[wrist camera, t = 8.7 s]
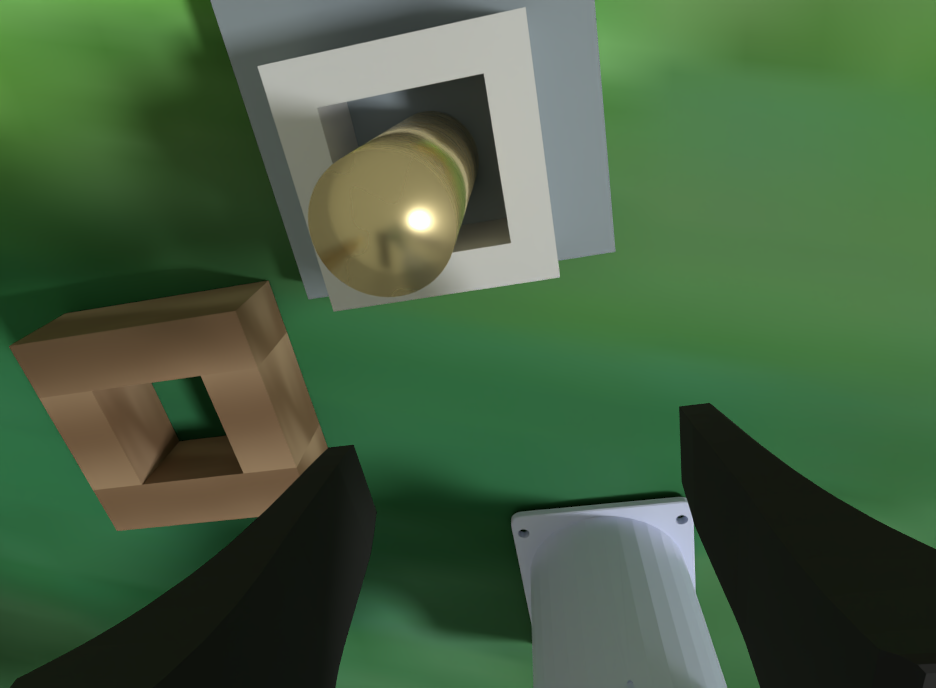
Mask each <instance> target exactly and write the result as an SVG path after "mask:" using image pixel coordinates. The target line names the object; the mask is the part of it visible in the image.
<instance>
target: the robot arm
mask: <svg viewBox="0 0 936 688" xmlns="http://www.w3.org/2000/svg"><path fill="white" fill-rule="evenodd" d="M679 412H680V443H681V474H682V484H683V488H684V491H685V495H686V498H685V497H672V498H661V499H651V500H640V501H629V502H618V503H608V504H597V505H586V506H576V507H565V508H554V509H544V510H533V511H522V512H517V513H515V514H514V515H513V516H512V518H511V527H512V532H513V537H514V542H515V547H516V552H517V556H518V561H519V566H520V571H521V576H522V581H523V586H524V591H525V596H526V600H527V605H528V610H529V615H530V620H531V625H532V652H533V688H727V685H726V682H725V679H724V676H723V673H722V670H721V667H720V664H719V661H718V658H717V655H716V652H715V649H714V646H713V643H712V640H711V637H710V634H709V631H708V628H707V625H706V622H705V619H704V616H703V613H702V610H701V607H700V604H699V601H698V598H697V595H696V591H695V557H694V525H695V527H696V529H697V532H698V534H699V536H700V539H701V541H702V543H703V545H704V548H705V550H706V552H707V555H708V557H709V559H710V561H711V564H712V566H713V568H714V570H715V573H716V575H717V577H718V579H719V582H720V584H721V586H722V588H723V591H724V593H725V595H726V597H727V600H728V602H729V604H730V606H731V609H732V611H733V613H734V615H735V618H736V620H737V622H738V625H739V628H740V630H741V633H742V635H743V638H744V640H745V643H746V646H747V649H748V652H749V655H750V658H751V661H752V664H753V667H754V670H755V673H756V676H757V679H758V682H759V685H760V688H936V549H934V548H932V547H930V546H928V545H926V544H924V543H922V542H919V541H917V540H915V539H913V538H911V537H909V536H907V535H905V534H903V533H901V532H899V531H897V530H895V529H893V528H891V527H889V526H887V525H885V524H883V523H881V522H879V521H877V520H875V519H873V518H871V517H870V516H868V515H866V514H864V513H863V512H861V511H859V510H857V509H856V508H854V507H852V506H850V505H849V504H847V503H845V502H843V501H842V500H840V499H838V498H836V497H835V496H833V495H832V494H830V493H828V492H827V491H825V490H823V489H822V488H820V487H819V486H817V485H816V484H814V483H813V482H811V481H810V480H808V479H807V478H805V477H804V476H802V475H801V474H799V473H798V472H796V471H795V470H794V469H792V468H791V467H789V466H788V465H787V464H785V463H784V462H783V461H781V460H780V459H779V458H777V457H776V456H775V455H773V454H772V453H771V452H769V451H768V450H767V449H765V448H764V447H763V446H761V445H760V444H759V443H758V442H756V441H755V440H754V439H753V438H751V437H750V436H749V435H748V434H747V433H745V432H744V431H743V430H742V429H740V428H739V427H738V426H737V425H736V424H734V423H733V422H732V421H731V420H730V419H728V418H727V417H726V416H725V415H724V414H722V413H721V412H720V411H719V410H718V409H716V408H715V407H714V406H713V405H711V404H710V403H706V404H697V405H689V406H680V407H679ZM376 514H377V512H376V509H375V506H374V503H373V500H372V497H371V494H370V491H369V488H368V485H367V483H366V480H365V477H364V474H363V471H362V468H361V465H360V462H359V459H358V456H357V453H356V451H355V448H354V445H348V446H339V447H331V448H328V449H327V450H325V451H324V452H323V453H322V454H321V455H320V456H319V457H318V458H317V459H316V460H315V461H314V462H313V463H312V464H311V465H310V466H309V467H308V468H307V469H306V470H305V471H304V472H303V473H302V474H301V475H300V476H299V477H298V478H297V479H296V480H295V481H294V482H293V483H292V484H291V485H290V486H289V487H288V488H287V489H286V490H285V492H284V493H283V494H282V495H281V496H280V497H279V498H278V499H277V500H276V501H275V502H274V503H273V504H272V505H271V506H270V507H269V508H268V509H266V510H265V511H264V512H263V513H262V514H261V515H260V516H259V517H258V518H257V519H256V520H255V521H254V522H253V523H251V524H250V525H249V526H248V527H247V528H246V529H245V530H244V531H243V532H242V533H241V534H240V535H239V536H237V537H236V538H235V539H234V540H233V541H232V542H231V543H230V544H228V545H227V546H226V547H225V548H224V549H222V550H221V551H220V552H219V553H218V554H217V555H215V556H214V557H213V558H212V559H210V560H209V561H208V562H206V563H205V564H204V565H203V566H201V567H200V568H199V569H198V570H196V571H195V572H194V573H192V574H191V575H190V576H188V577H187V578H186V579H184V580H183V581H181V582H180V583H179V584H177V585H176V586H174V587H173V588H171V589H170V590H169V591H167V592H166V593H164V594H163V595H161V596H160V597H159V598H157V599H156V600H154V601H153V602H151V603H150V604H148V605H147V606H146V607H144V608H142V609H141V610H139V611H138V612H136V613H135V614H133V615H131V616H130V617H128V618H127V619H125V620H123V621H122V622H120V623H119V624H117V625H115V626H114V627H112V628H110V629H109V630H107V631H105V632H103V633H102V634H100V635H98V636H97V637H95V638H93V639H92V640H90V641H88V642H86V643H84V644H83V645H81V646H79V647H77V648H75V649H73V650H72V651H70V652H68V653H66V654H64V655H62V656H60V657H58V658H56V659H54V660H53V661H51V662H49V663H47V664H45V665H43V666H41V667H39V668H37V669H35V670H33V671H32V672H30V673H28V674H25V675H23V676H21V677H19V678H17V679H16V680H15V682H14V683H13V684H12V686H11V687H10V688H335V686H336V680H337V675H338V670H339V665H340V661H341V657H342V653H343V649H344V645H345V642H346V638H347V635H348V631H349V628H350V624H351V621H352V617H353V614H354V611H355V607H356V604H357V600H358V597H359V593H360V590H361V587H362V583H363V580H364V576H365V572H366V569H367V565H368V562H369V558H370V554H371V549H372V542H373V536H374V529H375V521H376ZM680 515H685V516H684V517H682V518H677V517H678V516H680ZM693 521H694V524H693ZM522 529H525V530H527V531H525V532H522V531H520V530H522Z"/></svg>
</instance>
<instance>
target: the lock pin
mask: <svg viewBox="0 0 936 688" xmlns="http://www.w3.org/2000/svg"><path fill="white" fill-rule="evenodd" d="M478 167H479V155H478V149H477V146H476V143H475V141H474V139H473V137H472V135H471V133H470V132H469V130H468V129H467V128H466V127H465V126H464V125H463V124H462V123H461V122H460V121H458V120H457V119H456V118H454V117H452V116H450V115H448V114H445V113H441V112H436V111H425V112H420V113H417V114H414V115H412V116H410V117H408V118H406V119H405V120H403V121H401V122H400V123H398V124H397V125H395V126H393V127H392V128H390V129H388V130H387V131H385V132H383V133H382V134H380V135H379V136H377V137H375V138H374V139H372V140H370V141H369V142H367V143H365V144H364V145H362V146H360V147H359V148H357V149H356V150H354V151H352V152H351V153H349V154H347V155H346V156H344V157H342V158H341V159H339V160H338V161H336V162H335V163H334V164H332V165H331V166H330V167H329V168H328V169H327V170H326V171H325V172H324V173H323V174H322V176H321V177H320V178H319V180H318V182H317V183H316V185H315V187H314V189H313V192H312V195H311V197H310V202H309V207H308V227H309V232H310V237H311V240H312V243H313V246H314V248H315V250H316V252H317V254H318V256H319V257H320V259H321V261H322V262H323V263H324V265H325V266H326V267H327V269H328V270H329V271H330V272H331V273H332V274H333V275H334V276H335V277H337V278H338V279H339V280H340V281H341V282H343V283H344V284H346V285H348V286H349V287H351V288H353V289H355V290H357V291H359V292H362V293H365V294H368V295H373V296H379V297H398V296H404V295H408V294H411V293H414V292H416V291H418V290H421V289H422V288H424V287H426V286H427V285H429V284H430V283H431V282H432V281H434V280H435V279H436V278H437V277H438V276H439V275H440V274H441V273H442V271H443V270H444V268H445V267H446V265H447V263H448V262H449V260H450V258H451V255H452V252H453V249H454V246H455V243H456V240H457V237H458V233H459V230H460V227H461V224H462V221H463V218H464V214H465V211H466V208H467V205H468V202H469V199H470V195H471V192H472V189H473V186H474V183H475V180H476V176H477V173H478Z"/></svg>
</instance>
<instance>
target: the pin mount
mask: <svg viewBox="0 0 936 688" xmlns="http://www.w3.org/2000/svg"><path fill="white" fill-rule="evenodd" d="M9 347H10V349H11V351H12V352H13V354H14V356H15V358H16V359H17V361H18V363H19V364H20V366H21V368H22V370H23V371H24V373H25V375H26V376H27V378H28V380H29V381H30V383H31V385H32V387H33V388H34V390H35V392H36V393H37V395H38V397H39V398H40V400H41V402H42V404H43V405H44V407H45V409H46V410H47V412H48V414H49V416H50V417H51V419H52V421H53V422H54V424H55V426H56V427H57V429H58V431H59V433H60V434H61V436H62V438H63V439H64V441H65V443H66V445H67V446H68V448H69V450H70V451H71V453H72V455H73V456H74V458H75V460H76V462H77V463H78V465H79V467H80V468H81V470H82V472H83V474H84V475H85V477H86V479H87V480H88V482H89V484H90V485H91V487H92V489H93V491H94V492H95V494H96V496H97V497H98V499H99V501H100V503H101V504H102V506H103V508H104V509H105V511H106V513H107V514H108V516H109V518H110V520H111V521H112V523H113V525H114V526H115V528H116V530H117V531H121V530H131V529H141V528H151V527H161V526H171V525H181V524H191V523H202V522H212V521H222V520H232V519H242V518H252V517H259V516H260V515H261V514H262V513H263V512H264V511H265V510H266V509H268V508H269V507H270V506H271V505H272V504H273V503H274V502H275V501H276V500H277V499H278V498H279V497H280V496H281V495H282V494H283V493H284V492H285V490H286V489H287V488H288V487H289V486H290V485H291V484H292V483H293V482H294V481H295V480H296V479H297V478H298V477H299V476H300V475H301V474H302V473H303V472H304V471H305V470H306V469H307V468H308V467H309V466H310V465H311V464H312V463H313V462H314V461H315V460H316V459H317V458H318V457H319V456H320V455H321V454H322V453H323V452H324V451H325V450H327V449H328V447H327V444H326V441H325V438H324V436H323V433H322V430H321V427H320V424H319V422H318V419H317V416H316V413H315V410H314V407H313V405H312V402H311V399H310V396H309V393H308V390H307V388H306V385H305V382H304V379H303V376H302V374H301V371H300V368H299V365H298V362H297V359H296V357H295V354H294V351H293V348H292V345H291V343H290V340H289V337H288V334H287V331H286V328H285V326H284V323H283V320H282V317H281V314H280V312H279V309H278V306H277V303H276V300H275V297H274V295H273V292H272V289H271V286H270V283H269V281H263V282H257V283H250V284H244V285H238V286H232V287H226V288H220V289H213V290H207V291H201V292H195V293H189V294H183V295H176V296H170V297H164V298H158V299H152V300H146V301H139V302H133V303H127V304H121V305H115V306H109V307H102V308H96V309H90V310H84V311H78V312H72V313H66V314H63V315H62V316H60V317H58V318H57V319H55V320H53V321H51V322H50V323H48V324H46V325H45V326H43V327H41V328H39V329H38V330H36V331H34V332H32V333H31V334H29V335H27V336H26V337H24V338H22V339H20V340H19V341H17V342H15V343H13V344H12V345H10V346H9ZM196 376H201V378H202V380H203V382H204V385H205V387H206V389H207V391H208V394H209V396H210V398H211V401H212V403H213V405H214V407H215V410H216V412H217V414H218V416H219V419H220V421H221V423H222V426H223V428H224V430H225V432H226V435H227V436H219V437H211V438H202V439H194V440H186V441H179V439H178V437H177V435H176V433H175V431H174V429H173V427H172V425H171V423H170V421H169V419H168V416H167V414H166V412H165V410H164V408H163V406H162V404H161V402H160V400H159V398H158V396H157V394H156V392H155V390H154V388H153V385H152V383H153V382H160V381H167V380H174V379H181V378H189V377H196Z"/></svg>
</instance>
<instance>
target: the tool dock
mask: <svg viewBox="0 0 936 688" xmlns="http://www.w3.org/2000/svg"><path fill="white" fill-rule="evenodd" d="M210 1H211V4H212V7H213V10H214V13H215V16H216V19H217V22H218V25H219V28H220V31H221V34H222V37H223V40H224V43H225V46H226V49H227V52H228V55H229V59H230V62H231V65H232V68H233V71H234V74H235V77H236V80H237V83H238V86H239V89H240V92H241V95H242V98H243V101H244V104H245V107H246V110H247V113H248V116H249V119H250V122H251V126H252V129H253V132H254V135H255V138H256V141H257V144H258V147H259V150H260V153H261V156H262V159H263V162H264V165H265V168H266V171H267V174H268V177H269V180H270V183H271V186H272V190H273V193H274V196H275V199H276V202H277V205H278V208H279V211H280V214H281V217H282V220H283V223H284V226H285V229H286V232H287V235H288V238H289V241H290V244H291V247H292V250H293V253H294V257H295V260H296V263H297V266H298V269H299V272H300V275H301V278H302V281H303V284H304V287H305V290H306V293H307V296H308V299H314V298H320V297H327V296H329V298H330V301H331V304H332V307H333V311H340V310H347V309H353V308H360V307H367V306H373V305H380V304H386V303H393V302H400V301H406V300H413V299H419V298H426V297H433V296H439V295H446V294H453V293H459V292H466V291H472V290H479V289H486V288H492V287H499V286H505V285H512V284H519V283H525V282H532V281H538V280H545V279H552V278H558V277H560V273H559V265H558V260H565V259H571V258H578V257H584V256H590V255H597V254H603V253H610V252H615V242H614V230H613V218H612V206H611V193H610V181H609V169H608V157H607V145H606V133H605V121H604V109H603V97H602V85H601V73H600V61H599V49H598V37H597V25H596V13H595V1H594V0H210ZM425 111H436V112H441V113H445V114H448V115H450V116H452V117H454V118H456V119H457V120H458V121H460V122H461V123H462V124H463V125H464V126H465V127H466V128H467V129H468V130H469V132H470V133H471V135H472V137H473V139H474V141H475V143H476V146H477V149H478V155H479V167H478V173H477V176H476V180H475V183H474V186H473V189H472V192H471V195H470V199H469V202H468V205H467V208H466V211H465V214H464V218H463V221H462V224H461V227H460V230H459V233H458V237H457V240H456V243H455V246H454V249H453V252H452V255H451V258H450V260H449V262H448V263H447V265H446V267H445V268H444V270H443V271H442V273H441V274H440V275H439V276H438V277H437V278H436V279H435V280H434V281H432V282H431V283H430V284H429V285H427V286H426V287H424V288H422V289H421V290H418V291H416V292H414V293H411V294H408V295H404V296H398V297H379V296H373V295H368V294H365V293H362V292H359V291H357V290H355V289H353V288H351V287H349V286H348V285H346V284H344V283H343V282H341V281H340V280H339V279H338V278H337V277H335V276H334V275H333V274H332V273H331V272H330V271H329V270H328V269H327V267H326V266H325V265H324V263H323V262H322V261H321V259H320V257H319V256H318V254H317V252H316V250H315V248H314V246H313V243H312V240H311V237H310V232H309V227H308V207H309V202H310V197H311V195H312V192H313V189H314V187H315V185H316V183H317V182H318V180H319V178H320V177H321V176H322V174H323V173H324V172H325V171H326V170H327V169H328V168H329V167H330V166H331V165H332V164H334V163H335V162H336V161H338V160H339V159H341V158H342V157H344V156H346V155H347V154H349V153H351V152H352V151H354V150H356V149H357V148H359V147H360V146H362V145H364V144H365V143H367V142H369V141H370V140H372V139H374V138H375V137H377V136H379V135H380V134H382V133H383V132H385V131H387V130H388V129H390V128H392V127H393V126H395V125H397V124H398V123H400V122H401V121H403V120H405V119H406V118H408V117H410V116H412V115H414V114H417V113H420V112H425Z"/></svg>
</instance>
